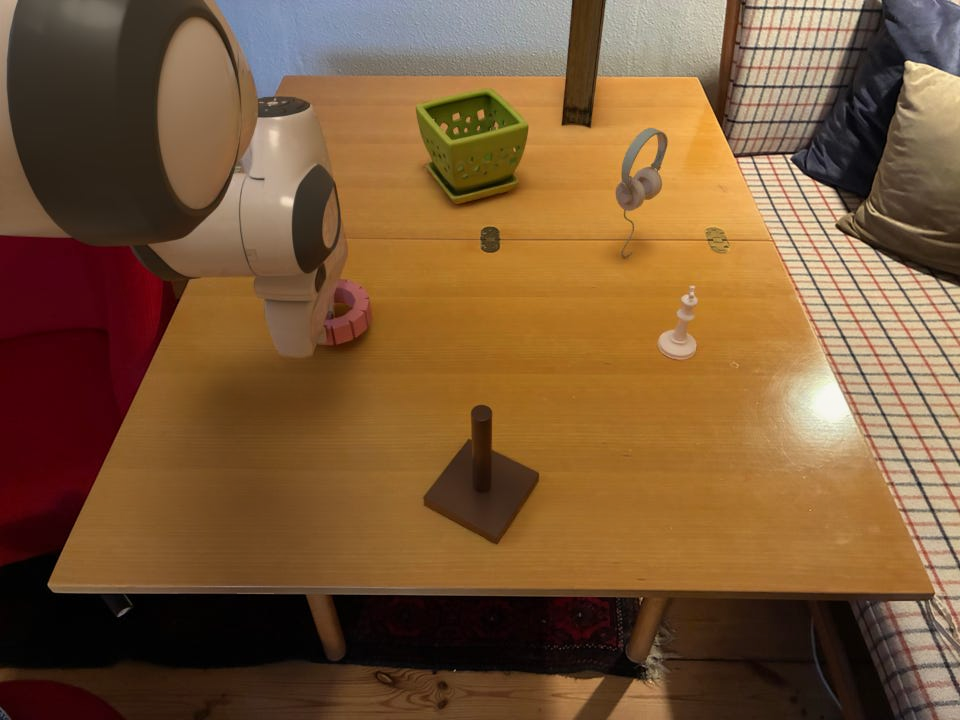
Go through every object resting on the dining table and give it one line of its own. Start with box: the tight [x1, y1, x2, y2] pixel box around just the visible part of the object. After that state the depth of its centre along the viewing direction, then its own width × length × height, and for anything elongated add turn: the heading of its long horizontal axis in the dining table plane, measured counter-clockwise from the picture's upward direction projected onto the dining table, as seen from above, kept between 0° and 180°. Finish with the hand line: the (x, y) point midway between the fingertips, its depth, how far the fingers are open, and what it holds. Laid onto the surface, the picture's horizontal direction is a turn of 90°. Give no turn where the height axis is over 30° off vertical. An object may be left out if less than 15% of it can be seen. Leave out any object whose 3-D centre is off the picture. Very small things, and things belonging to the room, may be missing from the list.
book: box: [561, 0, 607, 128], centre depth 126 cm, size 16×6×25 cm, turn 171°
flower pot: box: [415, 87, 529, 205], centre depth 112 cm, size 14×14×13 cm
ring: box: [316, 278, 373, 346], centre depth 90 cm, size 10×10×3 cm
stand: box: [422, 404, 540, 545], centre depth 70 cm, size 9×9×14 cm
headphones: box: [615, 127, 669, 259], centre depth 95 cm, size 8×4×20 cm, turn 134°
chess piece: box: [656, 285, 699, 361], centre depth 86 cm, size 5×5×10 cm
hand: (324, 330), depth 87 cm, fingers closed on ring, 2 cm apart
